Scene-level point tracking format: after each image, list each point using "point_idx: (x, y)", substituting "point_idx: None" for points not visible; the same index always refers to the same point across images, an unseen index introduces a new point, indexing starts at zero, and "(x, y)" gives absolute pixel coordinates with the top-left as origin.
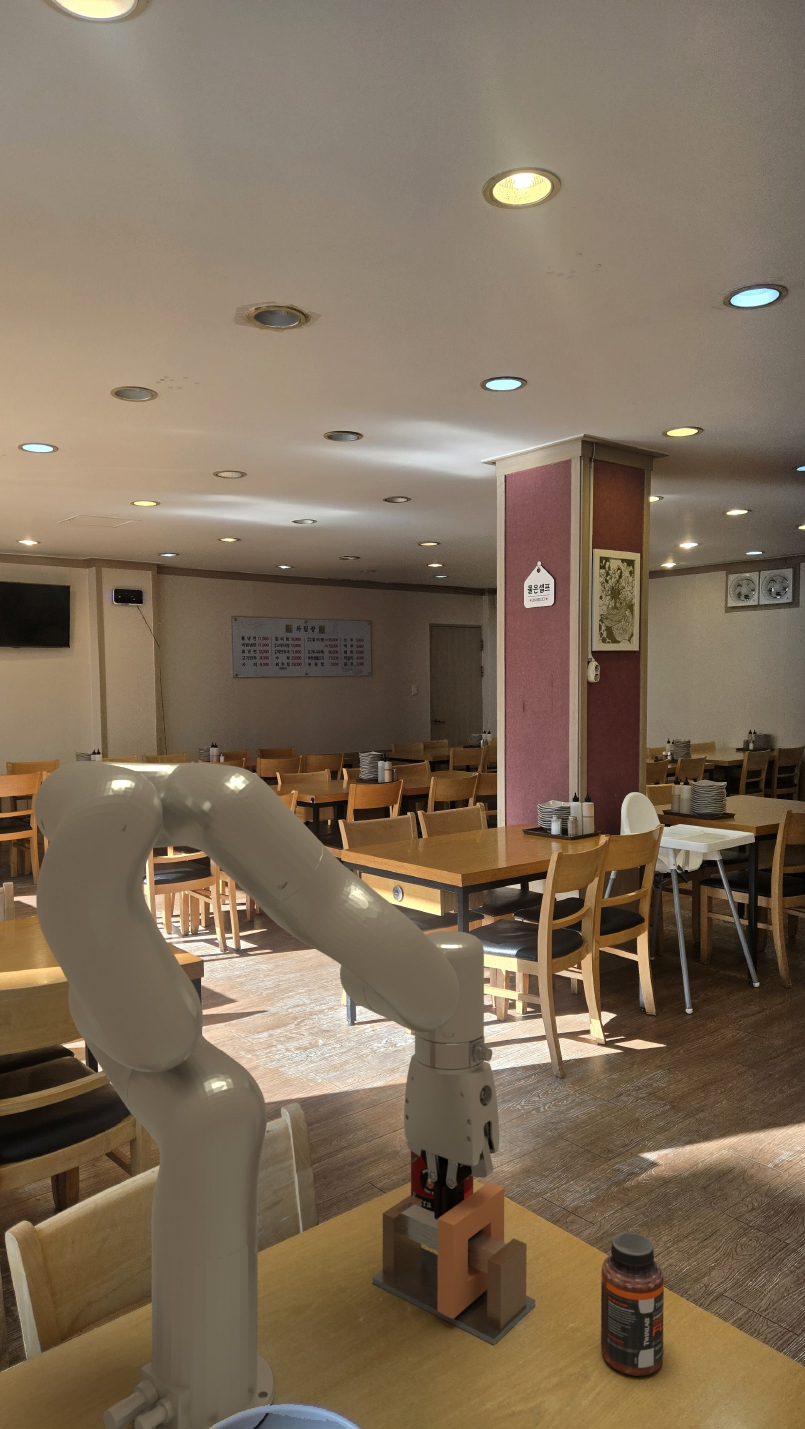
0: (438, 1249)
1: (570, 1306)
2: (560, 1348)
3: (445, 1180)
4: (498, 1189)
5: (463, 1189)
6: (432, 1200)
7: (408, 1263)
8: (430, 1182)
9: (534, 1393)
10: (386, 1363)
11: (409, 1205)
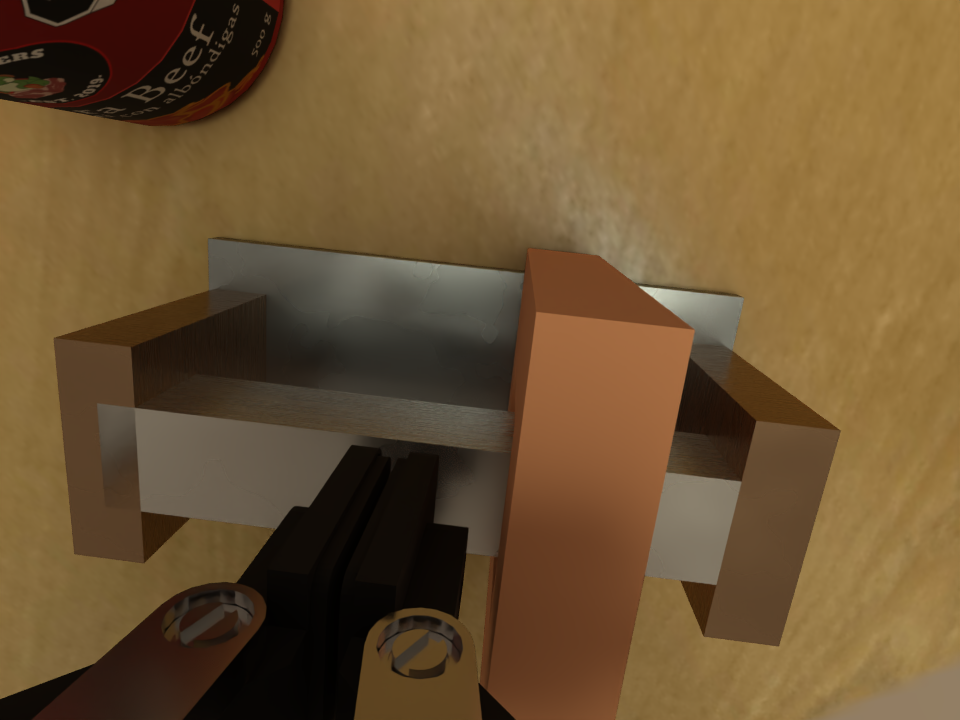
0: None
1: (857, 228)
2: (878, 443)
3: (306, 694)
4: (657, 375)
5: (455, 613)
6: (109, 101)
7: (262, 371)
8: (22, 87)
9: (854, 629)
10: None
11: (123, 428)
